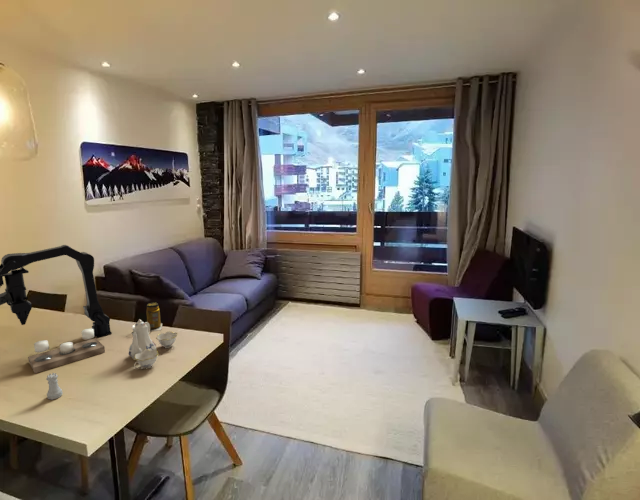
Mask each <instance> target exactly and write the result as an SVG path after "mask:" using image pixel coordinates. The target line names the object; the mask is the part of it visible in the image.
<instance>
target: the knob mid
mask: <svg viewBox="0 0 640 500" xmlns="http://www.w3.org/2000/svg"><path fill="white" fill-rule="evenodd" d="M73 344H74V342H73V341H67V342H66V341H65V342H63V343H60V344H59V348H60V351H61V353H62V354H66V353H70V352H72V351H73V350H74V348H73Z"/></svg>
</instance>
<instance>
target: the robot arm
mask: <svg viewBox="0 0 640 500" xmlns="http://www.w3.org/2000/svg"><path fill="white" fill-rule="evenodd" d="M62 256H63V257H64V256H67V257H69V258H72V259H73V260H75V262H76V265H77V267H78V269H79V270H80V273H81V276H82V281H83V286H84V292H85V297H86V305H83V310H84V313H83V315H85V316H86V317H87V318H89V319H90V320H91V321H92V326H91V328H92V329H94V337H95V338H96V339H98V338H101V337H104V336H108V335H112V334H113V332H112V331H111V325H110V322H111V321H110V320H111V318H110V317H109V316H108V315H107V314H106V313H104V311H103V308H102V306H101V304H100V303H99V299H98V295H97V288H96V283H95V278H94V268H95V258H94V256H93V255H92V254H90V253H88V252H85V251H81V252H80V251H78V250H76V249H74V248H72V247H71V246H69V245H67V244H62V245H59V246H55V247H51V248H50V247H49V248H47V249H45V248H44V249H42V250H41V249H40V250H37V251H30V252H17V253H7V254H4V255H3V256H2V258H1V260H0V261H1V262H0V288H2V286H4V285H5V288H4V290H5V291H4V292H2V293H0V306H3V305H4V304H6V305H8V306H10V307H9V308H10V311H11V313H12V314H15V316H16V318H17V320H19V322H20V324H21V326H25V325H26V324H27V321H28V318H29V315H30V313H31V310H32V309H33V305H32V302H31V301H29V299H28V296H27V291H26V290H27V288H26V284H25V280H24V279H25V278H24V275H25V274H29V270H28V269H26V268H25V267H26V266H28V265H30V264H32V263H37V262H40V261H44V260H45V261H46V260H49V259H53V258H57V257H58V258H59V257H62ZM3 277H4V279H3ZM4 282H5V284H4Z"/></svg>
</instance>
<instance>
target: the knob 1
mask: <svg viewBox="0 0 640 500" xmlns="http://www.w3.org/2000/svg"><path fill="white" fill-rule="evenodd" d="M33 348H34V352H35V353H44V352H47V351H49V350H50V345H49V340H47V339H46V340H45V339H44V340H38V341H36V342H34V343H33Z"/></svg>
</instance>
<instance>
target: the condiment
mask: <svg viewBox="0 0 640 500" xmlns="http://www.w3.org/2000/svg"><path fill="white" fill-rule="evenodd" d="M145 310H146V311H145V312H146V313H145V314H146V315H145V316H146V322H148V323H149V324H150V332H155V331H162V327H163V323H162V321H161V312H160V307H159V303H157V302H150V303H147V304H146V309H145Z"/></svg>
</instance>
